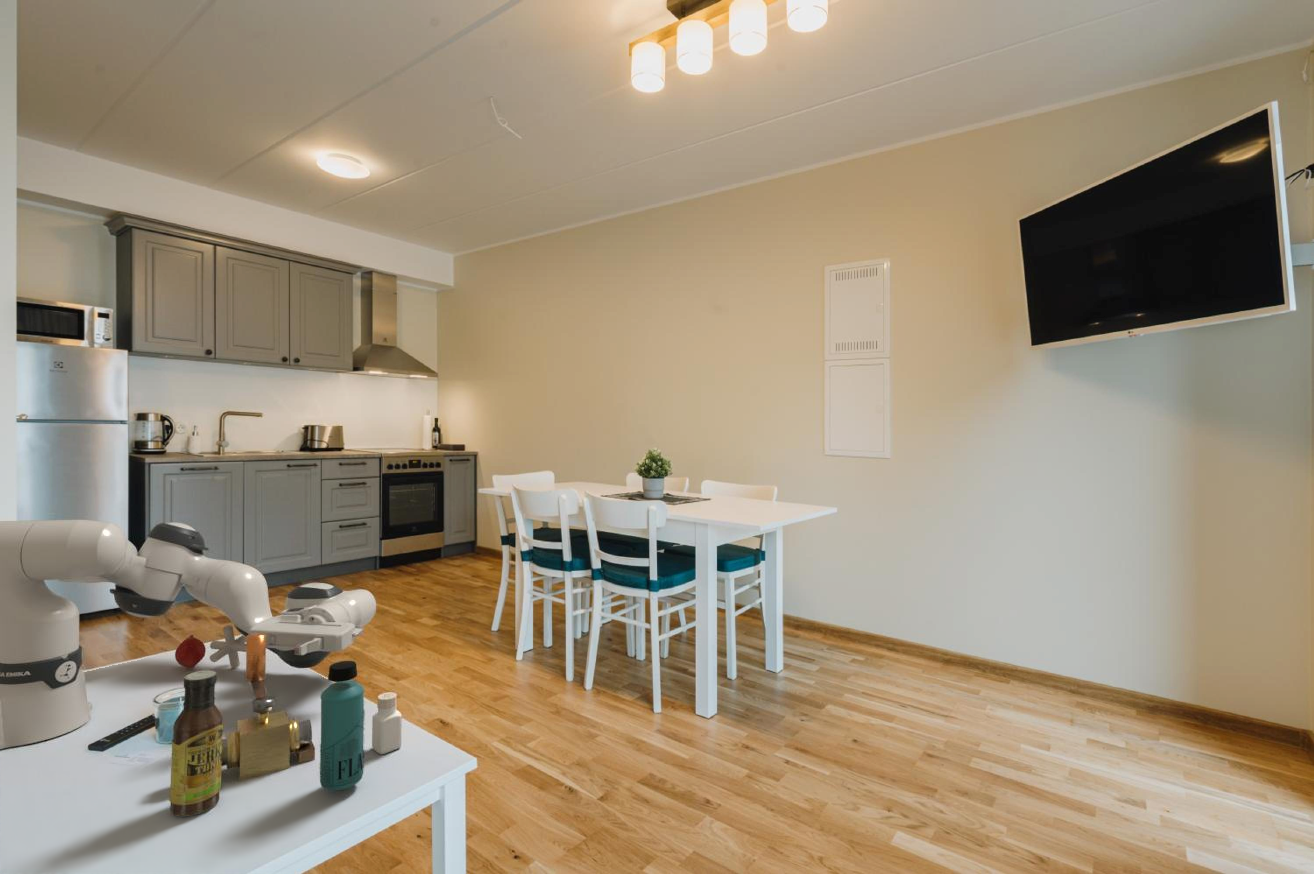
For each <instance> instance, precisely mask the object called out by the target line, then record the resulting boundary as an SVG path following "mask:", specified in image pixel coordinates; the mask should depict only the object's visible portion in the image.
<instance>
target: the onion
mask: <svg viewBox="0 0 1314 874" xmlns="http://www.w3.org/2000/svg"><path fill="white" fill-rule="evenodd" d="M206 649H207V647H206V646H205V643H204V642H202V641H201V640H200V639H199V638H196V637H195V636H194V634H189V637H186V638H185V639H184V640H183V641H182V642H181V643H179V645H178V647H177V648H176V649H175V653H174V658H175V661H176V662H177V664H179V665H180V666H182V667H184V668H187V669H188V670H190V669H193V668H195V667H196V666H197V665H198V664H199V663H200V662H201V661H202V660H203V659H204V657H205V655H206V652H207V651H206Z"/></svg>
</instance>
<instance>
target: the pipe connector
mask: <svg viewBox="0 0 1314 874" xmlns="http://www.w3.org/2000/svg"><path fill="white" fill-rule="evenodd" d="M222 630H223V631H222V632H223V635H224V636H223V637H224V639H225V640H224V641H223V640H222V641H220V640H219V641H218V640H213V641H211V642H210V645H209V647H210V649H212V650H217V651H215V652H214V653H212V654H210V656H209V660H210V661H211V662H213V663H216V662H218V661H219V660H221V659H222V658H224V657H225V656H227V655H228V659H229V664H230V665H229V666H230V668H232V669H234V668H238V667H240V665H241V662H240V658H239V653H238V652H241V653H246V639H247V637H246V636H245V635H243V634H241V636H238V637H237V638H236V639H235V634H234V629H233V625H232V624H230V625H225V626H224V627H222Z"/></svg>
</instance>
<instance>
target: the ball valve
mask: <svg viewBox="0 0 1314 874" xmlns="http://www.w3.org/2000/svg"><path fill="white" fill-rule="evenodd" d="M312 738H313V730H312V722H311V719H310V718H308V719H305V720H301V721H300V720H299V719H298V717H295V718H290V719H289V718H288V716H287V713H286V710H281V711H275V712H272V713H270V711H267V712H262V713H257V716H254V717H253V716H252V717H248V718H244V719H240V720H237V721H236V731H233V732H229V733H226V734H225V738H224V739H223V740H222V767H224V766H226V770H231V769H234V768H237V774H238V778H239V782H242V781H245V780H248V779H252V778H256V777H260V776H263V775H267V774H270V773H275V772H278V771H282V770H286V769H289V768H290V754H294V755H295V754H296V755H295V756H296V759H297V762H298V764H303V763H307V762H310V760H311V761H314V760H315V758H316V755H315V754H316V747H315V745H314V742H313V741H312V740H313V739H312Z"/></svg>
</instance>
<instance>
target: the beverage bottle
mask: <svg viewBox="0 0 1314 874" xmlns="http://www.w3.org/2000/svg"><path fill="white" fill-rule="evenodd" d="M357 676H358V668H357V663H356V661H354V660H341V661H337V662H334V663H332V664H330V665H329V668H328V676H327V677H328V678H327V679H328V681H330V682H333V683H331V684H330V685H328V686H327V687H326V688H325V689H324V690H323V691H322V692H321V694H320V701H321V702H320V746H319V748H320V751H319V752H320V754H319V755H320V756H319V759H320V760H319V763H318V764H319V771H318V773H319V783H320V786H321V788H323V789H324V790H327V791H340V790H344V789H349V788H350V787H353V786H355V785H356V784H358V783H359V782H360V781H361V780H362V778H363V775H364V772H365V765H364V759H365V749H364V744H365V737H364V734H365V733H364V730H365V729H366V728H365V727H364V726H365V714H366V713H365V711H366V709H365V706H364V705H365V700H364V698H365V697H364V696H365V694H364V693H365V688H364V686H362V685H361V684H360V683H359V682H357V681H355V680H353V679H356V677H357Z"/></svg>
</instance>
